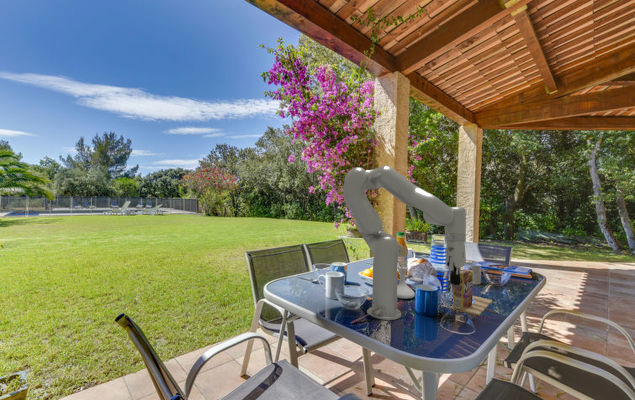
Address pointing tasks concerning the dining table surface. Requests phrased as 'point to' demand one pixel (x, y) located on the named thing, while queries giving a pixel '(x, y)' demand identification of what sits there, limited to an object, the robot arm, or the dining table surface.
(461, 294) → the candy box
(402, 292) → the flower in vase
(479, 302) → the striped wooden board
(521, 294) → the dining table surface
